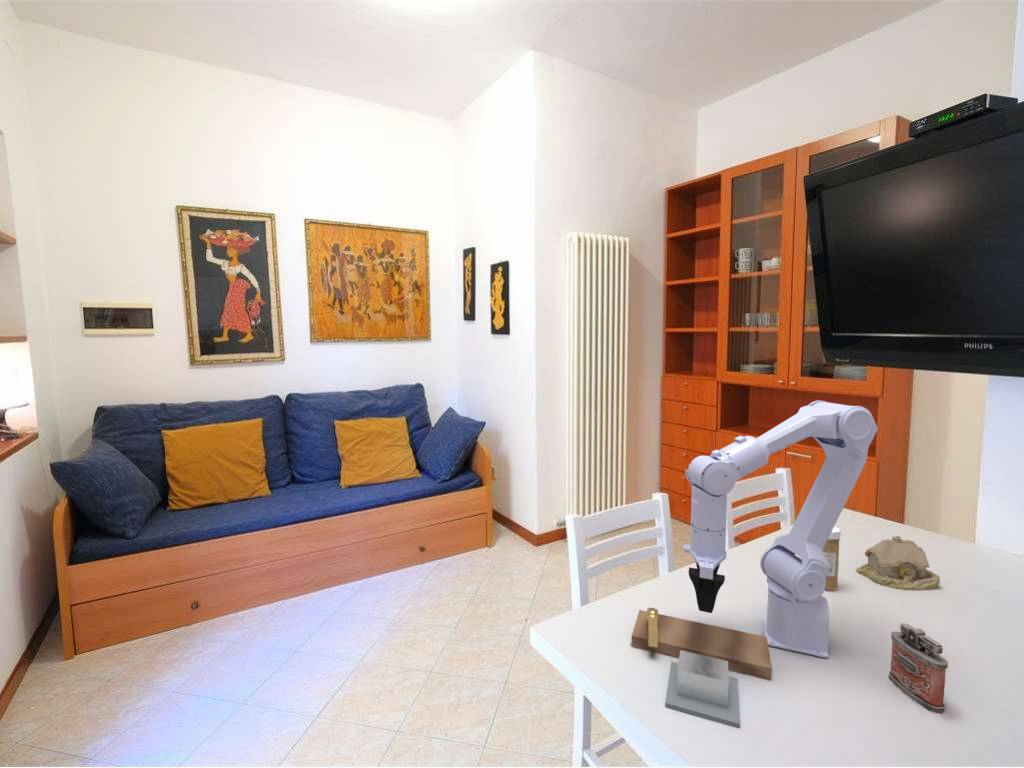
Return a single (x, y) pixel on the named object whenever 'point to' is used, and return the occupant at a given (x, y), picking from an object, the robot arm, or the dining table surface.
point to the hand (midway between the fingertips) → (706, 599)
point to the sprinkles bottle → (832, 559)
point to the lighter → (918, 667)
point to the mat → (701, 707)
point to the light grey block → (703, 678)
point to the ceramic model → (899, 565)
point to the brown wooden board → (707, 643)
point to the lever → (652, 627)
